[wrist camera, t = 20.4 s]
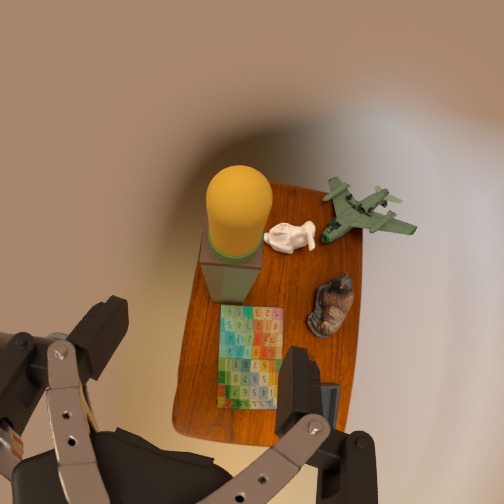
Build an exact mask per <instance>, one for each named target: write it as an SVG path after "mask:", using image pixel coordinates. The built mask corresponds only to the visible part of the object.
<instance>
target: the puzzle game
mask: <svg viewBox="0 0 504 504" xmlns="http://www.w3.org/2000/svg"><path fill="white" fill-rule="evenodd" d="M282 342H283V307H259V306H239V305H222V304H221V318H220V338H219V362H218V390H217V408H222V409H277V390H278V375H279V370H280V367H281V365H282Z"/></svg>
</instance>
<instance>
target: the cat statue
mask: <svg viewBox="0 0 504 504" xmlns="http://www.w3.org/2000/svg"><path fill="white" fill-rule="evenodd" d="M330 281H331V282H332V283H330V284H325V285H322V286H320V287H319V288H318V290H317V297H316V303H315V305H316V307H315V309H314V312H313V313H310V314H309V316H308V325H309V327H310V329H311V330H312V332H313V333H314V334H315V335H316V336H318V337H321V338H328V337H330V335H333V334H334V333H335V332H337V331H338V329H339V328H340V326H341V324H342V322H343V320H344V319H345V317H346V315H347V313H348V312H349V310H350V308H351V307H352V304H353V301H354V292H353V290H352V287H353V281H352V279H351V277H350V276H348V274H347V272H346V273H345V275H344V276H341V277H334V278H332V279H330Z"/></svg>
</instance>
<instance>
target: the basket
mask: <svg viewBox="0 0 504 504" xmlns="http://www.w3.org/2000/svg"><path fill="white" fill-rule="evenodd" d="M321 392H322V404H323V415H324V418H325V419H326V420H327V421H328V423H329V425H330V426H331V427H332V428H334V429H336V422H337V413H338V404H339V394H340V385H338V384H335V383H321ZM277 436H278V437H279V439H281V438H282V435H278V434H277Z"/></svg>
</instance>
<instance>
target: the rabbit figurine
mask: <svg viewBox="0 0 504 504" xmlns="http://www.w3.org/2000/svg"><path fill="white" fill-rule="evenodd" d="M314 233H315V226H314V224H313V223H312V222H311V221H308V222H306V223H305V224H304V225H302V226H301V227H298V226H292V225H290V224H288V223H280V224H278V225H276V226H275V227H273V228H272V229H271V230H270V231H269V233H265V234H264V241H265V242H266V243H267V244H270V245H271V246H272V248H273V249H274V250H276V251H279V252H283V253H288V254H292V253H293V251H294V249H297V248H299V247H304V246H306V245H307V244H308V245H309V251H311V250H312V249H314V248H315V243H314V239H313V237H314Z"/></svg>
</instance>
